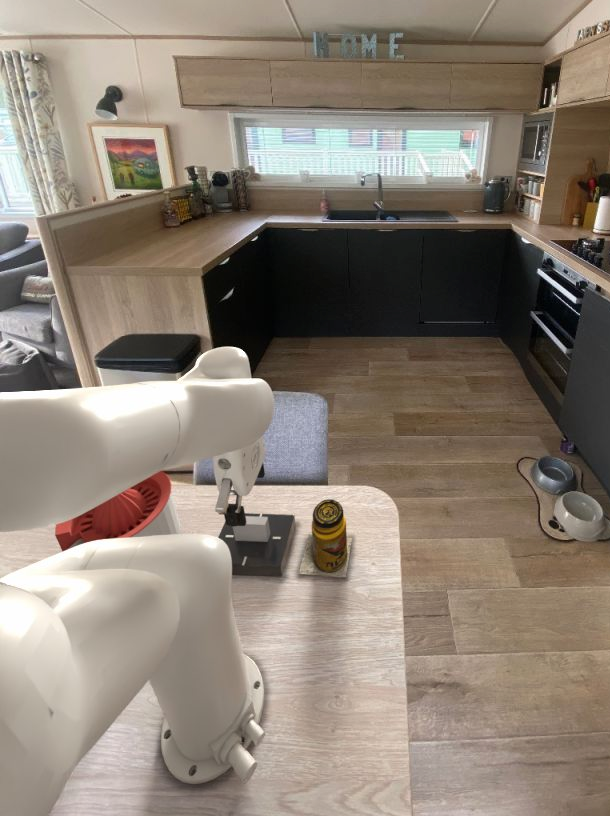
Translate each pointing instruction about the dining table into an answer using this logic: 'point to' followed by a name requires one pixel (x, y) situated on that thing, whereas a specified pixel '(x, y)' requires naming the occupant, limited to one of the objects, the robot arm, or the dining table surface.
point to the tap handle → (253, 530)
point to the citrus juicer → (125, 515)
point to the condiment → (327, 542)
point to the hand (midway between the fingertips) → (247, 498)
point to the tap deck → (261, 548)
